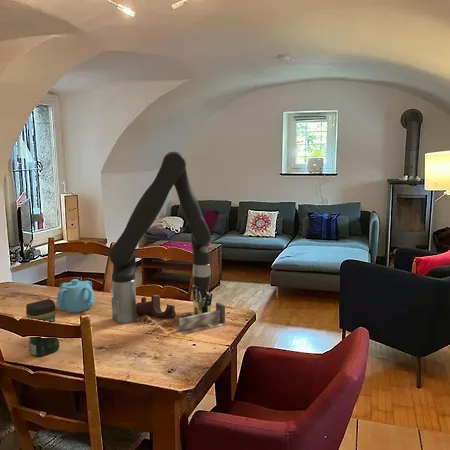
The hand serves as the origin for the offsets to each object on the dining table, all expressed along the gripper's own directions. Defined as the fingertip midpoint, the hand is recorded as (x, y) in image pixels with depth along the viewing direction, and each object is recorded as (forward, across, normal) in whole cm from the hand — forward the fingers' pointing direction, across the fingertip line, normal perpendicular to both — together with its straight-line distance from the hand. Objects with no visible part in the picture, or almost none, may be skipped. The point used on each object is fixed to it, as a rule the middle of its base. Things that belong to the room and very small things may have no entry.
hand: (202, 312), depth 197 cm
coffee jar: (+2, 0, -64) cm, 64 cm away
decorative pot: (+2, -38, -43) cm, 57 cm away
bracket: (+2, -10, -17) cm, 19 cm away
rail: (+1, +11, -7) cm, 13 cm away
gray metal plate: (+1, 0, 0) cm, 1 cm away
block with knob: (0, 0, 0) cm, 0 cm away
